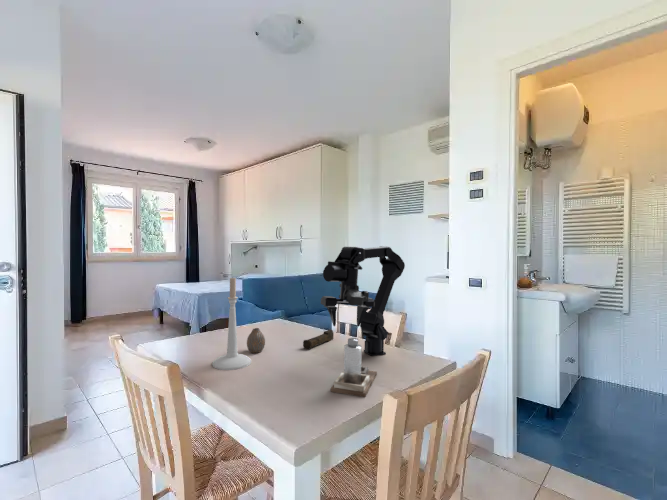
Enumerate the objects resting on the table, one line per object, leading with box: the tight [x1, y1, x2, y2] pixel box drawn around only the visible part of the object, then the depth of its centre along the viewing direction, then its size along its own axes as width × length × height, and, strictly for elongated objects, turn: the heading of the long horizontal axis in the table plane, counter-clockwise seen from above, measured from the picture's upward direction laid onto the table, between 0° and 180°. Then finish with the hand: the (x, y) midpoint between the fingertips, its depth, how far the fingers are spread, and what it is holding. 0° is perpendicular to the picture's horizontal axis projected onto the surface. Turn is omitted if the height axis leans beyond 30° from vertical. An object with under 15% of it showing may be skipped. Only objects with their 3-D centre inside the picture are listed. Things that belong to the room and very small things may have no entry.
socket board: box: [330, 365, 378, 398], centre depth 103 cm, size 17×10×2 cm, turn 162°
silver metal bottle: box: [343, 337, 362, 385], centre depth 99 cm, size 5×5×13 cm
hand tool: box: [302, 329, 334, 350], centre depth 142 cm, size 19×4×5 cm, turn 144°
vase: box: [246, 327, 266, 354], centre depth 131 cm, size 7×7×9 cm
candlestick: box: [212, 277, 252, 371], centre depth 118 cm, size 13×13×30 cm
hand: (346, 326), depth 120 cm, fingers open, 9 cm apart
